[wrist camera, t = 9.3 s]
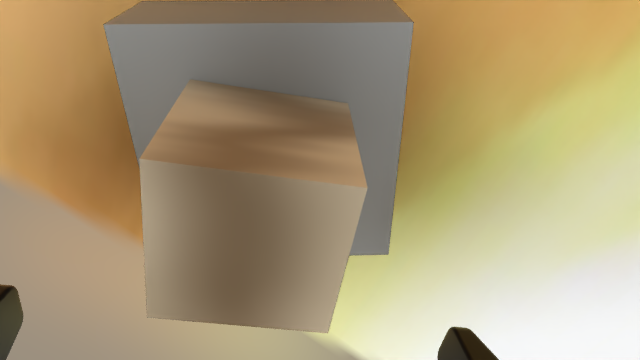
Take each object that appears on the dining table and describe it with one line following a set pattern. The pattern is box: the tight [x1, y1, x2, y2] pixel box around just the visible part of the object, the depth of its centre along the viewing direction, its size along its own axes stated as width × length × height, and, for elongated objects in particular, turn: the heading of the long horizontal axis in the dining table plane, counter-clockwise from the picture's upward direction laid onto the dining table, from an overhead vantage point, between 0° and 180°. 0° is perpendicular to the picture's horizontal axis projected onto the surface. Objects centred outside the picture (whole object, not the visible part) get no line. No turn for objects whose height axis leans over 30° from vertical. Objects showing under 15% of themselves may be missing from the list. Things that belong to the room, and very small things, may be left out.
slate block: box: [103, 0, 414, 255], centre depth 17 cm, size 9×9×4 cm
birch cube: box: [139, 79, 367, 333], centre depth 13 cm, size 5×5×5 cm
